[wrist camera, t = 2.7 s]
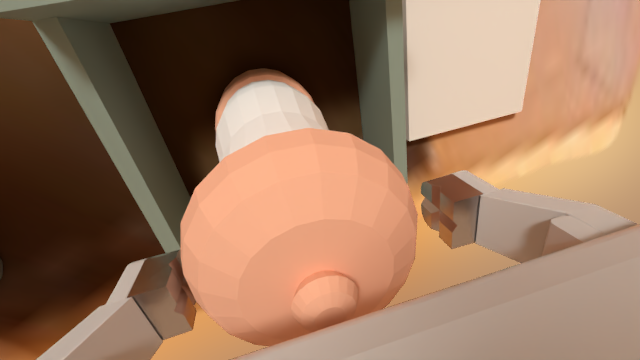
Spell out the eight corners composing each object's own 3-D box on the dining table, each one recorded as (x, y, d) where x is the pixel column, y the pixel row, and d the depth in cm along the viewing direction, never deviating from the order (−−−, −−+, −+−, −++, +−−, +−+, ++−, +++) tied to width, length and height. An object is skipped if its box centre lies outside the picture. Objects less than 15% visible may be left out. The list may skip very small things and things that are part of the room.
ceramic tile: (403, 138, 27) (409, 141, 26) (398, -12, 21) (405, -15, 20) (513, 109, 29) (521, 111, 28) (535, -38, 23) (547, -41, 22)
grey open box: (195, 234, 26) (174, 318, 18) (84, 8, 17) (-44, -18, 10) (377, 182, 28) (429, 237, 21) (358, -39, 20) (434, -90, 12)
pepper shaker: (327, 105, 24) (528, 259, 7) (277, 172, 25) (346, 429, 9) (251, 46, 21) (294, 73, 4) (200, 127, 22) (74, 397, 5)
